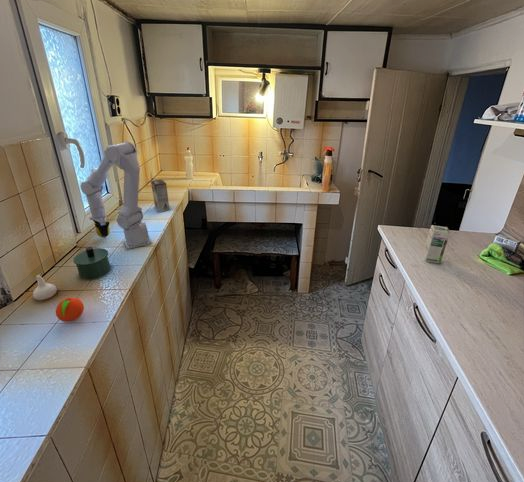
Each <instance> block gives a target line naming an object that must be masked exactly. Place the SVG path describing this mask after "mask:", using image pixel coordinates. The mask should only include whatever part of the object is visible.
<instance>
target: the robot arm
mask: <svg viewBox="0 0 524 482" xmlns="http://www.w3.org/2000/svg"><path fill="white" fill-rule="evenodd" d="M103 153H104V154H103V155H104V156H103V157H102V159H101V162H100V163H99V165H98V167H95V168H92V169H91V170H90V172H91V173H90V174H89V175H88V176H87V178H86V180H85V181H82V182H81V183H80V185H79V187H80V191H81V192H82V193H83V194H84V195H85V197H86V200H87V203H88V207H89V212H90V215H91V216H89V217H88V219H89V220H90V221H92V222H93V223H94V226H95V228H96V227H97V228H98V229H99V231H100V233H101V235H102V237H101V238H103V237H105V238H106V237H108V236H109V235H108V226H110V221H109V220H108V221H106V220H107V217H108V214H107V212H106V207H105V204H104V203H105V202H104V199H103V189H104V183H105V182H106V181H107V179H108V177H109V174H108V171H110V169H111V168H112V166H113V165H115V166H116V167H117V168H118V169H120V170H123V194H122V195H123V199H122V207H121V208H120V209H119V211H118V215H117V217H116V223H117V225H118V226H119V228H121V229H122V231H123V235H124V238H125V240H124V241H123V242H124V244H125V247H126V249H127V250H131V249H134V248H139V247H142V246H147V245H150V244H151V242H150V236H149V231H148V227H147V224H146V222H142V220H143V219H144V213H143V207H141V206H140V205H139V189H140V173H141V171H140V170H141V166H140V163H139V158H138V153H139V152H138V149H137V148H136V146H135V145H134V143H132V142H130V141H124V142H121V143H117V144H110V145H108V146H106V148H105V150H104V151H103Z"/></svg>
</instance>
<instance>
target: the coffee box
mask: <svg viewBox="0 0 524 482" xmlns="http://www.w3.org/2000/svg"><path fill="white" fill-rule="evenodd" d="M150 185H151V191H152V196H153V203H154V207H155V209H156V210H157V211H158V212H159V213H161V212H166V211H170V209H171V208H170V202H169V193H168V187H167V183H166V181H164V179H162V178H161V179H155V180H151V181H150Z"/></svg>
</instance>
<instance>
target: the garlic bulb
mask: <svg viewBox="0 0 524 482" xmlns="http://www.w3.org/2000/svg"><path fill="white" fill-rule="evenodd" d="M35 277H36V281H37V287H36V288H34V290H33V292H32V297H33V298H34V299H35V301H45V300H48V299H50V298H52V297H54V295H56V294H57V292H58V289H57V286H56V285H55V284H53V283H47V282H46V281H45V280H44V278H43V277H42V275H41V274H37V275H35Z"/></svg>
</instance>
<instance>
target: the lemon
mask: <svg viewBox="0 0 524 482" xmlns="http://www.w3.org/2000/svg"><path fill="white" fill-rule="evenodd" d="M109 226H110V225H109ZM109 226H108V236H109V235H110V234H111V233H110V232H111V230H110V227H109ZM95 233H96V234H97V236H98V237H100V238H103V239H106V237H102V235H101V233H100V231H99V229H98V228H97V227H96V226H95Z"/></svg>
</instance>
